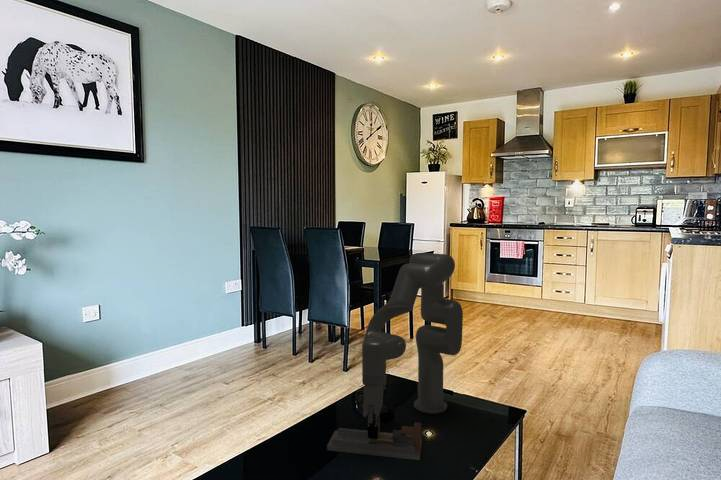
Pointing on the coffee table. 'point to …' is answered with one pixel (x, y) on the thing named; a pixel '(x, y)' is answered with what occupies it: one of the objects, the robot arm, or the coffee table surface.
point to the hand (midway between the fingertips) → (374, 433)
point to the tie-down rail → (359, 443)
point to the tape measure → (386, 413)
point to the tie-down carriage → (386, 435)
